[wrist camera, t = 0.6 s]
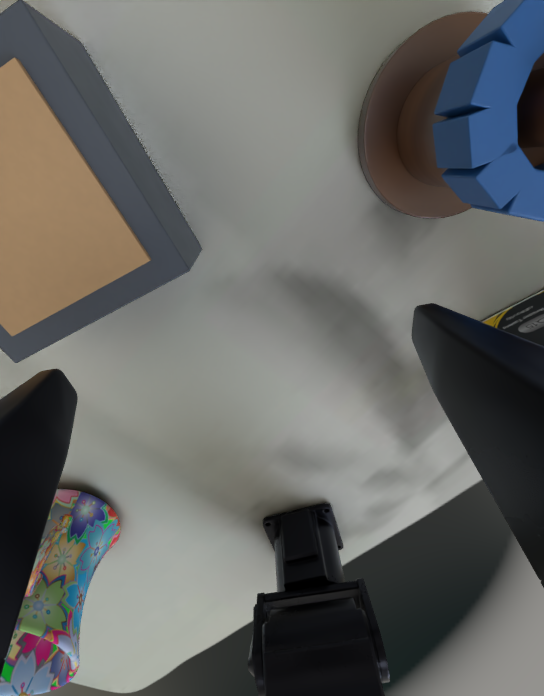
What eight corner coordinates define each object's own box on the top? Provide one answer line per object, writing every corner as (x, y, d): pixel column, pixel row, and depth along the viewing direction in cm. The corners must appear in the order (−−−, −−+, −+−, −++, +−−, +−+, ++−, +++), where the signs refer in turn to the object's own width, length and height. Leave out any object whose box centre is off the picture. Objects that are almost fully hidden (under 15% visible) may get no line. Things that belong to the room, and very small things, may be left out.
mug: (114, 557, 35) (62, 704, 25) (12, 535, 32) (-88, 686, 23) (149, 474, 30) (102, 616, 20) (32, 441, 28) (-82, 583, 18)
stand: (520, 190, 21) (735, 209, 12) (370, 235, 22) (459, 286, 12) (528, -8, 17) (867, -223, 8) (343, 55, 18) (444, -68, 8)
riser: (202, 249, 22) (189, 272, 17) (60, 326, 23) (11, 366, 19) (80, 41, 17) (14, -7, 12) (-87, 158, 19) (-200, 155, 14)
